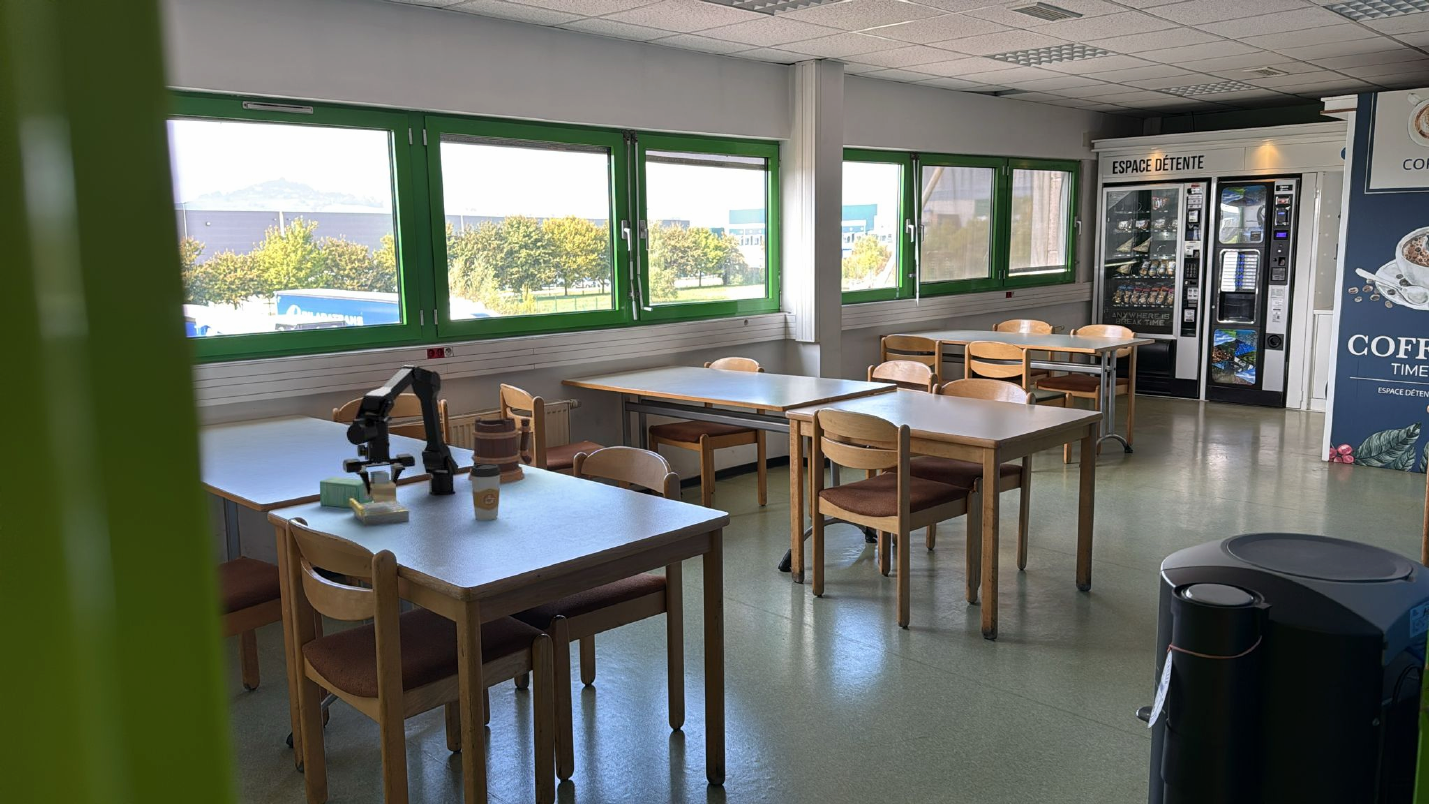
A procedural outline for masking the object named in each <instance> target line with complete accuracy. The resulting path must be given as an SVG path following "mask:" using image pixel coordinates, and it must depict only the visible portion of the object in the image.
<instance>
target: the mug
mask: <svg viewBox="0 0 1429 804" xmlns="http://www.w3.org/2000/svg"><path fill="white" fill-rule="evenodd" d="M530 423H531V420H530V418H527V417H526V418H524V417H523V418H521V419H520V424H521V425H520V426H519V427H516V425H517V424H516V419H515V418H514V417H511V416H507V417H505V418H504V417H503V418H498V419H482V418H481V417H475V419H474V430H472V432H471V433H472V436H473V437H474V443H473V445H474V446H473V447H474V448H473V454H472V455H471V460H472V462H473V466H474V465H477V464H497V465H498V466H499V469H500V473H501V474H500V482H499V484H506V483H507V484H508V483H514V482H517V481H521V480H523V479H525V474H524V472H523V471H524V469H523V467H522V466H520V465H519V464H520V463H519V460H520V458H521V460H522V462H524V464H526V466H528V465H530V464H531V463H532V461H533V458H532V456H530V454H529V450H528V445H529V444H528V442H529V437H530V432H531V429H532V426H531V425H530ZM519 432H521V433H520V434H521V435H520V442H519V450H518V441H517V439H518V437H517V436H518V435H519ZM471 470H472V468H470V469H469V475H468V477H467V480H468V481H470V482H472V479H471V475H470V474H471Z"/></svg>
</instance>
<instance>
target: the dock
mask: <svg viewBox="0 0 1429 804" xmlns="http://www.w3.org/2000/svg"><path fill="white" fill-rule="evenodd" d="M349 501H350V506H351V507H352V508H351V509H353V516H354V518H355V519H357V520H358V521H359V523H361V524H362V525H363V526H364V527H373V526H382V525H388V524H389V525H390V524H396V523H404V522H405V523H406V522H409V521H410V511H409V509H408V508H406V507H405V506H404V505H403V504H401V503H400V501H398V500H397V499H396V500H392V501H384V502H375V503H374V502H371V503H363V504H359V503H358V502H357V501H356V500H355V499H353V498H349Z"/></svg>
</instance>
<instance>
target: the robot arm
mask: <svg viewBox="0 0 1429 804" xmlns="http://www.w3.org/2000/svg"><path fill="white" fill-rule="evenodd" d="M441 382H442V381H441V375H440V374H439V373H438V372H437V371H436V370H429V369H425V368H422V367H420V366H417V365H409V364H405V365H402V366H401V367H400V370H399V371H398V372H397V373H395V374H394V375H393V376H392V377H391V378H390V379H389V380H388V381H387V382H386V383H384V384H383V386H382V387H380V388H377V389H373V390H370V391H369V392H367V393H366V394H365V395H364V396H363V397H362V400H361V402H360V405H359V408H358V409H357V410H358V411H357V412H356V415H355V419H353V420H352V424H351V425H349V426H348V428H347V431H346V438H347V440H348V442H349V443H350V444H351V445H354V446H357V447H356V451H357V456H358V457H359V458H360V457H364V460H363V461H362V460H360V459H359V458H358V457H357V458H348V459H344V460H343V462H342V470H343V471H344V472H345V473H346V474H350V473H351V474H352V473H355V474H356V475H358V476H359V477H360V479H362V481H363V483H364V486H365V488H366V491H367V493H368V494H369V495H370V483H369V478H370V477H369V476H370V474H369V472H368V470H367V468H373V467H375V468H376V467H384V466H385V467H386V466H389V467H390V480H391V481H392V482H394V483H395V484H396V485H397V484H398V483H397V482H398V480H399V478H400V476H401V474H402V472H403V471H406V469H407V468H410V467H415V466H416V459H415V457H414V456H413V455H412V454H410V453H401V454H396V456H395V457H392V458H391V457H390V456H391V455H390V447H391V445H390V444H391V443H390V432H389V429H390V427H389V422H390V421H393V417H392V416H391V415H389V414H390V412H392V410H393V408H394V407H395V400H396V399H397V398H398V397H399V396H400V395H401V394H402V393H403V392H404V391H405V390H406V389H407V388H408V387H409V386H410V385H411V389H412V392H413V394H414V395H415V396H416V398H417V399H418V400H419V402H420V409H421V415H422V421H423V428H424V433H425V441H426V445H425V448H424V450H422V451H421V458H422V465H423V466H424V470H425V474H430V477H429V478H428V486H429V487H428V488H429V491H428V492H430V493H431V494H433V495H434V496H439V495H441V496H442V495H449V494H450V495H451V494H456V491H455V490H454V476H455V475H457V473H458V471H459V465H458V463H457V462H456V461H455V459H454V458H453V455H452V452H451V448H450V447H449V446H448V445H447V444H446V442H445V441H444V437H443V431H442V423H441V417H440V410H439V404H438V395H439V393H440V391H441V389H442V388H441ZM365 443H366V445H365Z"/></svg>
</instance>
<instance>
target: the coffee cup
mask: <svg viewBox="0 0 1429 804" xmlns="http://www.w3.org/2000/svg"><path fill="white" fill-rule="evenodd" d="M471 469H472V470H471V474H470V473H469V474H470V475H471V479H472V481H471V487H472V490H471V491H472V500H473V502H472V503H473V508H474V509H473V511H474V517H475V519H476V520H478V521H482V520H488V521H493V520H492V519H494V520H496V519H497V518H498V516H499V505H500V483H499V482H500V474H501V473H500V469H499V466H498V465H497V464H477V465H474V464H473V465H472V466H471ZM495 518H496V519H495Z"/></svg>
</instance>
